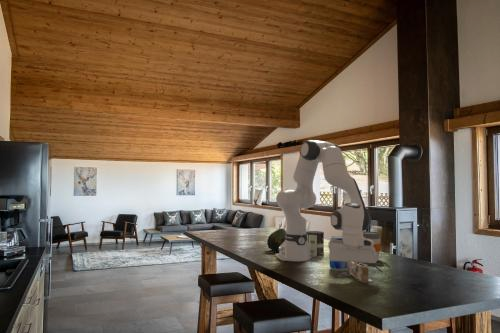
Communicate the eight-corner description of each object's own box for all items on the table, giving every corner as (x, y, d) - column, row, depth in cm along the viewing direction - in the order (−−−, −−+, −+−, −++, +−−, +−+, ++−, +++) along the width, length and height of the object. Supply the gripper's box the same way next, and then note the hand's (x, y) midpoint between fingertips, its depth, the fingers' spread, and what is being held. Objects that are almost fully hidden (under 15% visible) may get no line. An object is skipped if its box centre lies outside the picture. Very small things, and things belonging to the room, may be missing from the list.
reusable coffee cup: (377, 262, 205) (376, 234, 206) (354, 259, 213) (354, 232, 213) (384, 259, 215) (384, 232, 216) (363, 256, 223) (362, 230, 223)
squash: (260, 243, 234) (276, 225, 232) (266, 241, 249) (281, 224, 247) (276, 260, 230) (293, 242, 228) (282, 256, 245) (297, 239, 243)
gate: (345, 272, 179) (345, 258, 179) (350, 272, 179) (350, 258, 179) (363, 283, 159) (363, 267, 159) (369, 283, 159) (369, 267, 160)
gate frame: (339, 273, 179) (339, 258, 179) (350, 272, 181) (350, 257, 181) (363, 282, 162) (363, 266, 162) (375, 281, 164) (375, 265, 165)
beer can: (334, 272, 182) (334, 238, 183) (326, 268, 190) (326, 236, 191) (350, 271, 184) (350, 237, 185) (341, 267, 192) (341, 235, 193)
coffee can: (322, 254, 228) (322, 231, 228) (325, 258, 217) (325, 233, 218) (305, 254, 228) (305, 230, 229) (307, 257, 218) (307, 233, 218)
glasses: (358, 263, 204) (358, 254, 204) (390, 267, 194) (390, 257, 195) (349, 268, 193) (349, 258, 193) (382, 272, 183) (382, 262, 183)
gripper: (328, 240, 166) (328, 272, 166) (377, 242, 162) (377, 275, 162) (328, 238, 172) (328, 269, 172) (375, 240, 168) (375, 271, 168)
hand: (352, 272), depth 167 cm, fingers closed
